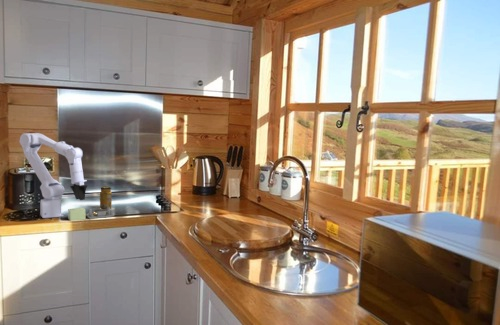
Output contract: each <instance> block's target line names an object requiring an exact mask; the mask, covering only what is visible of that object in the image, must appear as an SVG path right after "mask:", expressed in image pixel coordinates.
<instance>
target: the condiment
mask: <svg viewBox="0 0 500 325" xmlns="http://www.w3.org/2000/svg"><path fill="white" fill-rule="evenodd" d="M112 199H113V198H112V187H111V186H101V187H100V193H99V206H97V207H96V209H101V208H102V211H107V207H110V211H111V210H112V211H113V210H115V208H114V207H112V204H113V203H112V201H113V200H112Z"/></svg>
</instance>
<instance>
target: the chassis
mask: <svg viewBox="0 0 500 325" xmlns="http://www.w3.org/2000/svg"><path fill="white" fill-rule="evenodd" d="M86 217H87V218H88V219H89V220H92V219H103V218H113V217H115V215H114V214H113V213H112V212H111V210H110V207H107V210H102V208H101V209H98V208H93V209H92V208H88V213H86Z"/></svg>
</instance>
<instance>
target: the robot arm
mask: <svg viewBox="0 0 500 325" xmlns="http://www.w3.org/2000/svg"><path fill="white" fill-rule="evenodd" d="M19 144H20V146H21V147H22V150H23V151H22V152H23V155H24V157H25V158H26V160H27V162H28V164H29V165H30V166H31V168H32V170H33V171H34V173H35V175H36V176H37V178H38V180H39V182H40V183H41V185H40V186H39V189H40V191H41V195H42V197H43V199H40V203H39V204H40V205H39V206H40V208H39V209H40V212H39V213H40V214H39V215H40V216H41V217H42V219H49V218H58V217H60V218H61V217H64V214H63V213H62V198H63V195H64V193H65V187H64V186H63V185H62V184H61V183H60V182H59V180H57V179H54V178H53V177H52V175H51V174H50V173H51V172H49V170H48V169H47V167H46V165H45V163H44V162H43V160H42V158H41V157H40V156H39V154H38V151H39V150H40V149H41V147H42V145H43V146H44V145H45V147H46V146H47V147H49V148H52V149H54V152H55V153H57V154H59V155H61V156H64V157H65V158H66V160H67V162H68V164H69V167H68V168H69V172H70V174H69V175H70V178H71V179H70V180H71V182H70V183H71V184H72V185H70V189H71V190H72V192H73V195H74V197H75V200H79V201H84V200H85V199H86V192H87V191H86V190H87V188H88V185H87V184H85V182H87V181H88V180H87V179H84V171H83V164H82V158H83V155H84V154H83V152H84V151H83V150H82V148H80V147H78V146H77V147H74V146H73V145H70V144H68V143H66V141H62V140H61V141H58V142H57V141H55V140H53V139H52V138H50V137H48V136H46V135H45V134H43V133H40V132H35V133H33V132H31V133H30V132H28V133H27V132H24V133H22V134H21V135H20V136H19Z"/></svg>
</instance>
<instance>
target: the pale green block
mask: <svg viewBox="0 0 500 325" xmlns="http://www.w3.org/2000/svg"><path fill="white" fill-rule="evenodd" d="M67 212H68V215H67V216H68V217H67V219H68V220H69V221H70V222H71V221H73V222H74V221H82V220H86V217H87V216H86V214H87V213H86V209H85V208H84V207H77V208H76V207H75V208H69V209H68V211H67Z"/></svg>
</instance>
